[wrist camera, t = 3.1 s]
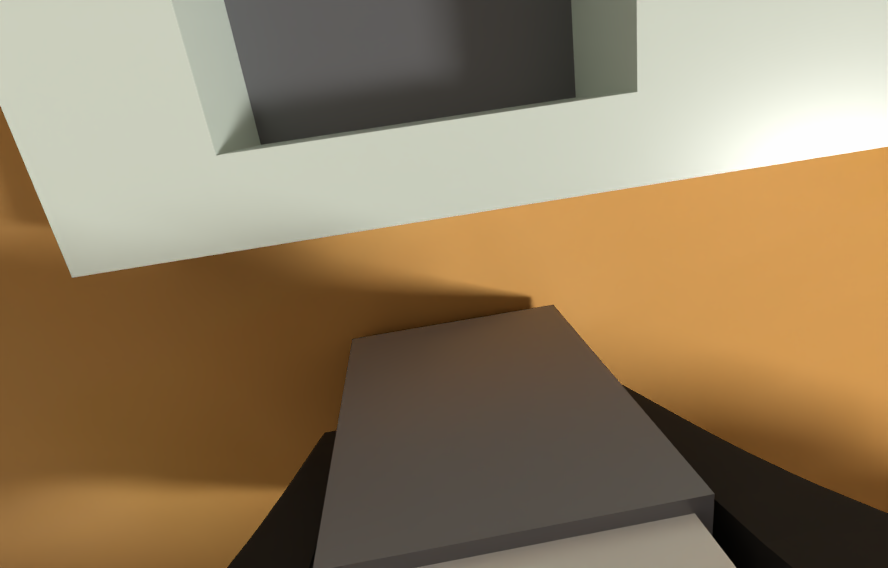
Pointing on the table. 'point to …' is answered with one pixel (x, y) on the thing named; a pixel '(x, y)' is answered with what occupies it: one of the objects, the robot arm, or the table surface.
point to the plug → (504, 457)
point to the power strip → (408, 108)
